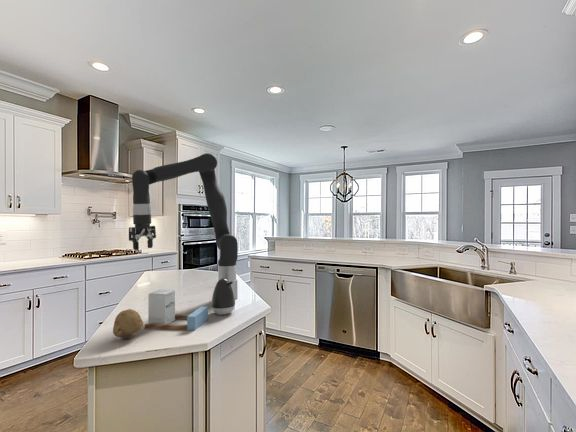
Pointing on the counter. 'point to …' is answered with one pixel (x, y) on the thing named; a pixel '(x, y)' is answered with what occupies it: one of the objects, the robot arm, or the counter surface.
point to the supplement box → (161, 307)
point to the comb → (169, 326)
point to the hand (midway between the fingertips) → (143, 248)
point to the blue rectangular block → (197, 318)
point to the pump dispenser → (223, 297)
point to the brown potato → (127, 324)
